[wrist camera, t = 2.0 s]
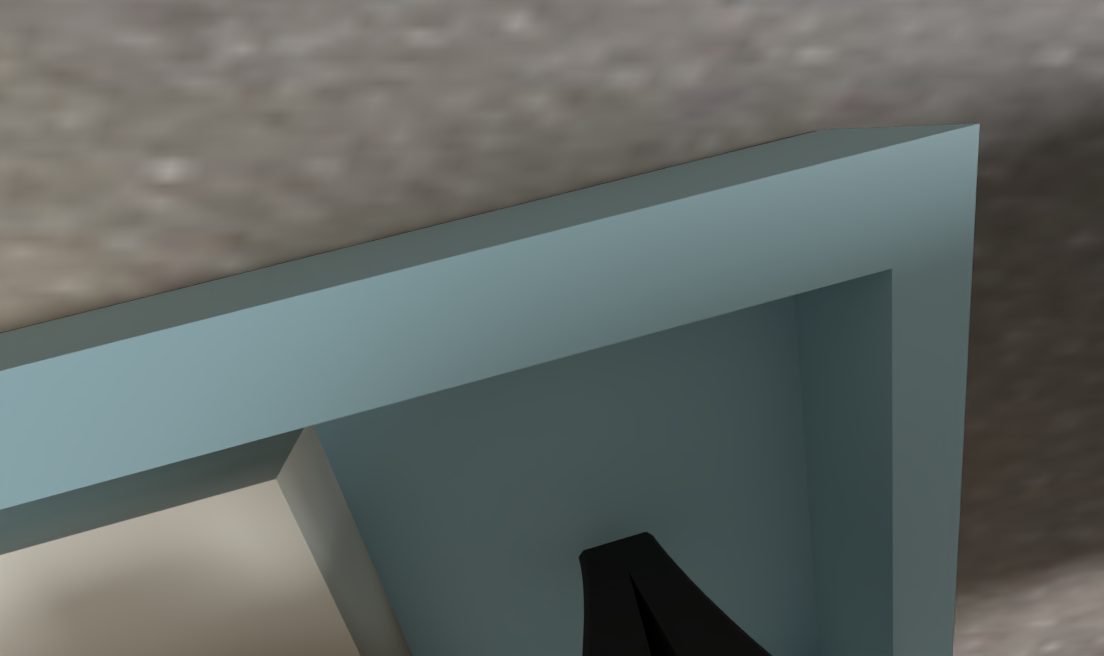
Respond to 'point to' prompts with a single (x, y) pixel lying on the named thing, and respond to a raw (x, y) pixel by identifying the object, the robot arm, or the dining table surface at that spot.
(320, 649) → the cover plate
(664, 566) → the robot arm
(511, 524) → the teal box
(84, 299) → the dining table surface
